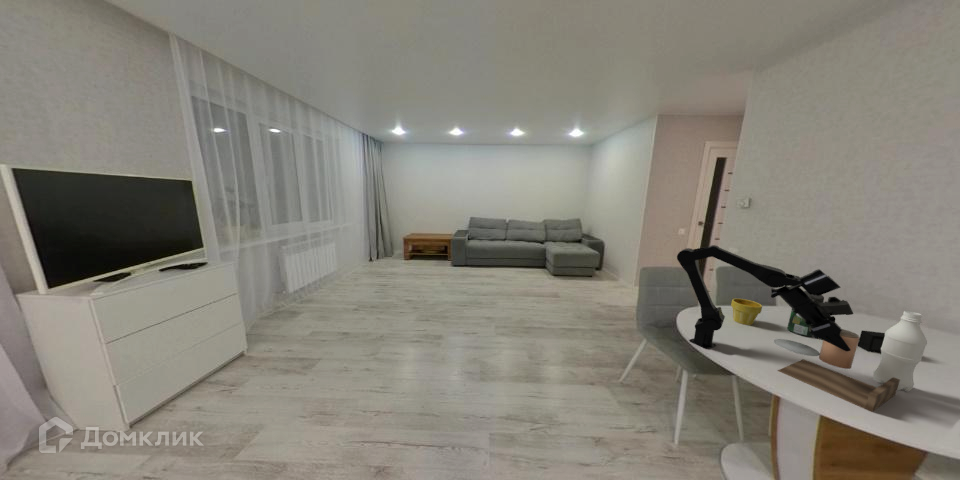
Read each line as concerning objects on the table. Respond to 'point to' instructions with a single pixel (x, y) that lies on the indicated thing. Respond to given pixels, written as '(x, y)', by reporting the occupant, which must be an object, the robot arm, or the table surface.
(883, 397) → the wooden bookend
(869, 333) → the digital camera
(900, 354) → the water bottle
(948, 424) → the table surface
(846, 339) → the terracotta pot
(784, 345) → the ceramic saucer
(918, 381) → the table surface
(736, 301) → the plant pot
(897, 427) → the table surface
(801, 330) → the coffee jar
